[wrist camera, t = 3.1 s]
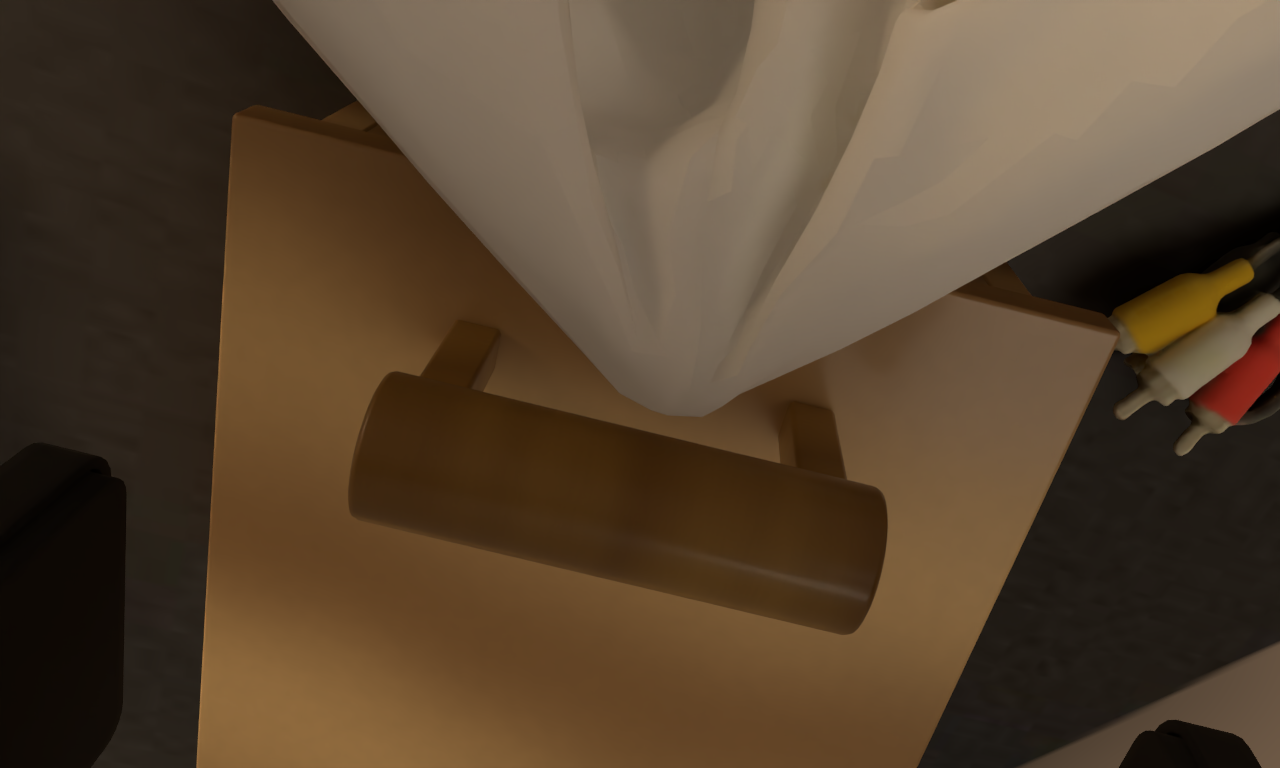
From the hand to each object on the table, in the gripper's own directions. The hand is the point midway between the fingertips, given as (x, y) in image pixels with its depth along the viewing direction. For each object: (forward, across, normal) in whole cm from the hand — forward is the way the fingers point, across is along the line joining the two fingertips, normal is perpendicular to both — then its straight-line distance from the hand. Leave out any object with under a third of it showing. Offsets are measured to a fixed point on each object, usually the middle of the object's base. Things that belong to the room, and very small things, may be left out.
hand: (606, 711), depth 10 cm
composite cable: (+16, -13, -3) cm, 21 cm away
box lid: (+7, 0, +5) cm, 9 cm away
